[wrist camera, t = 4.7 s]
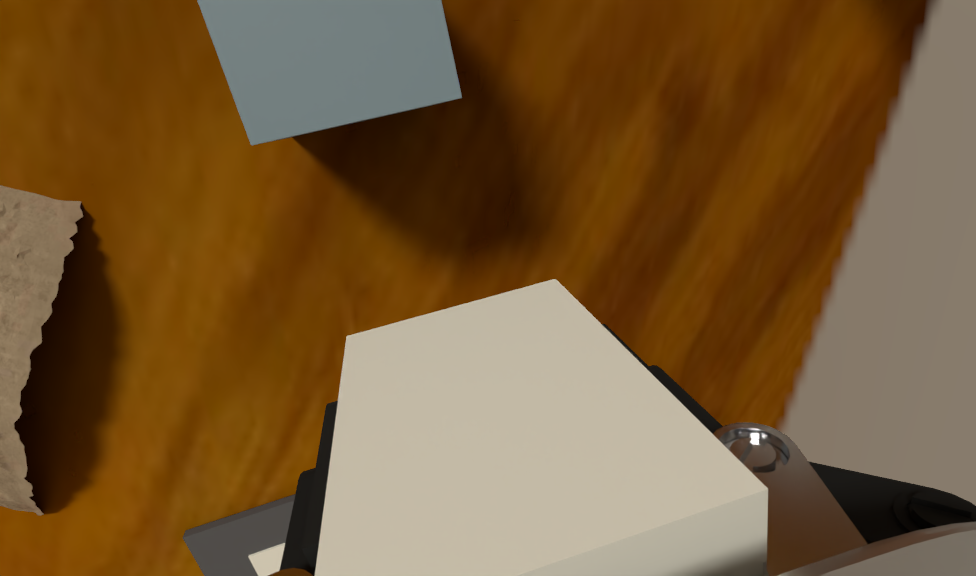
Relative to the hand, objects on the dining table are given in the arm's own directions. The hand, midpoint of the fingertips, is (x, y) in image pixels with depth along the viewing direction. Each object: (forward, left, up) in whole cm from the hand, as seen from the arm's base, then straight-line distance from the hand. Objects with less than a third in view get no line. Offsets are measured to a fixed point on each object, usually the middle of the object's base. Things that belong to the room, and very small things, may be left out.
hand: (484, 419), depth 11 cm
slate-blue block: (+1, -9, -10) cm, 14 cm away
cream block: (0, 0, -1) cm, 1 cm away
